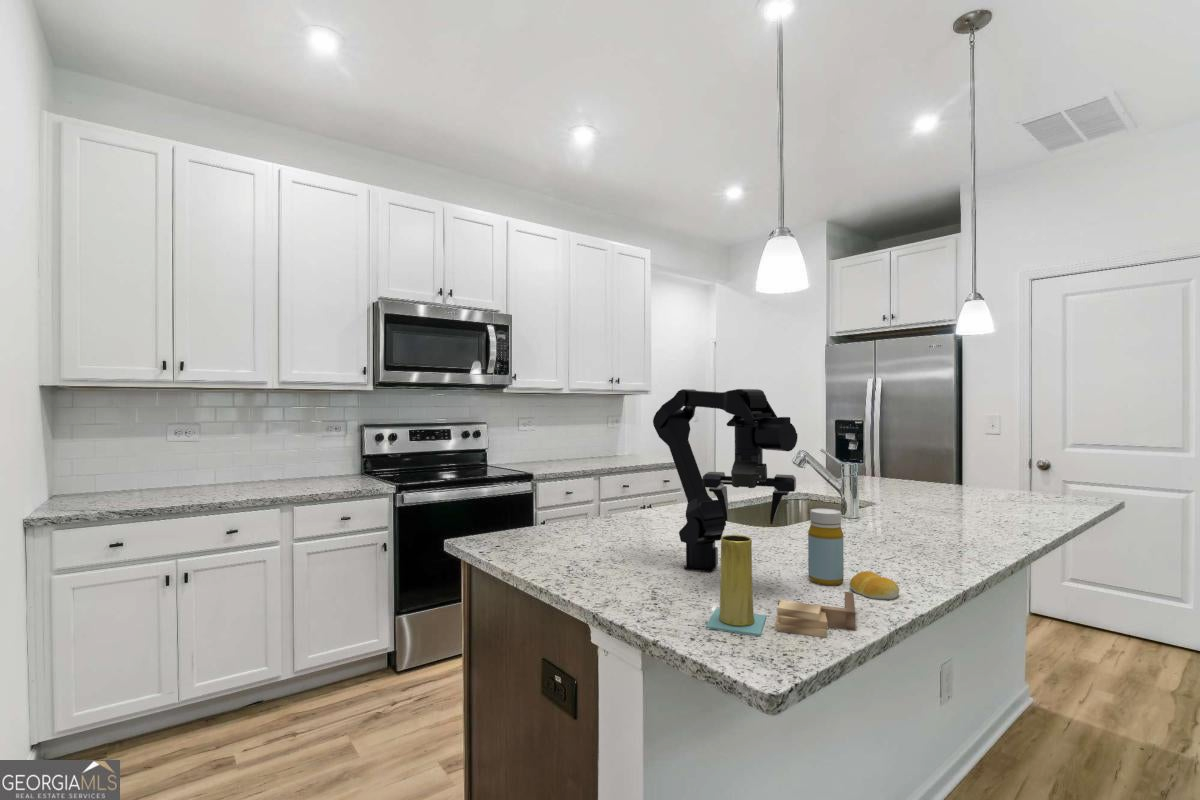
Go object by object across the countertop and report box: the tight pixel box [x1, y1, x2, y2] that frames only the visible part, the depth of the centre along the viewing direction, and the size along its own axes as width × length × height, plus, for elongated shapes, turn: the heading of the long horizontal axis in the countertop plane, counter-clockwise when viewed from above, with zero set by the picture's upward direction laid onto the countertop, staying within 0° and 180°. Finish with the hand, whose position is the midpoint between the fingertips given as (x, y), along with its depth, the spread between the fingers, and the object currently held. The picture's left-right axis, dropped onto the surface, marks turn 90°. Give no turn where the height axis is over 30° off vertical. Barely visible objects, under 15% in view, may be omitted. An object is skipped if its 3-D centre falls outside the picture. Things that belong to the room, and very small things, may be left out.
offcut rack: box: [774, 591, 856, 638], centre depth 102 cm, size 12×16×4 cm
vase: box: [719, 534, 755, 626], centre depth 101 cm, size 6×6×14 cm
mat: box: [705, 608, 767, 637], centre depth 101 cm, size 9×9×1 cm
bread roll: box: [849, 570, 900, 600], centre depth 117 cm, size 8×9×4 cm
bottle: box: [807, 507, 845, 586], centre depth 124 cm, size 7×7×15 cm
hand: (748, 522), depth 122 cm, fingers open, 9 cm apart
